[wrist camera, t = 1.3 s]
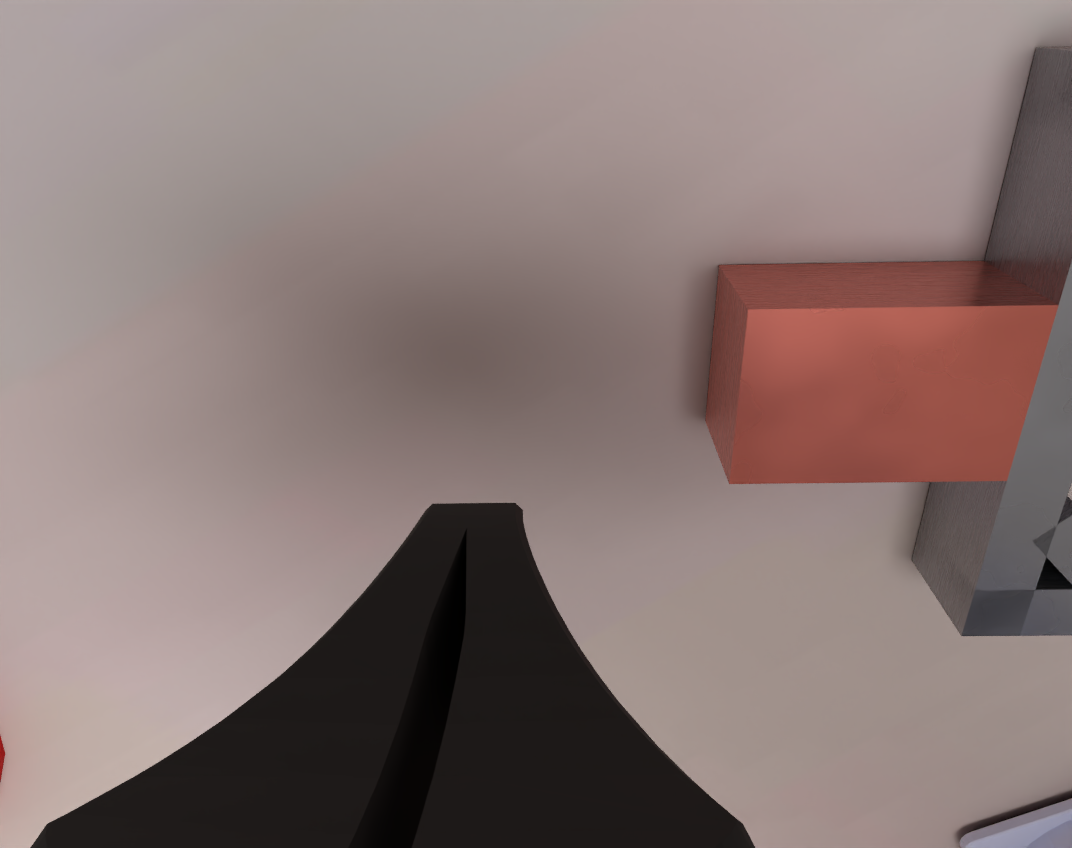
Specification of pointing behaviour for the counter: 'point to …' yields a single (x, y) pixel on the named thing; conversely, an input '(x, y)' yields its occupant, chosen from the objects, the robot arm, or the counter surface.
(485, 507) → the robot arm
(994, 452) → the clamp
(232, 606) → the counter surface
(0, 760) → the kitchen timer
